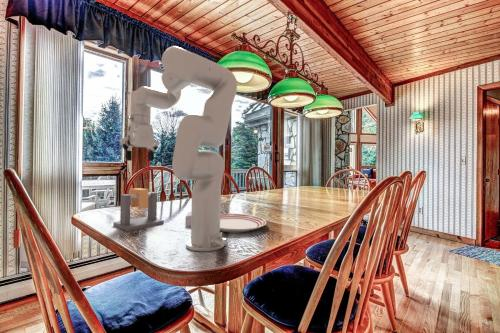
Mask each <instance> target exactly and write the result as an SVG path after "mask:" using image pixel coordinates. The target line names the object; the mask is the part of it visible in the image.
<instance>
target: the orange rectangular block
mask: <svg viewBox="0 0 500 333" xmlns="http://www.w3.org/2000/svg"><path fill="white" fill-rule="evenodd" d="M148 192H149V188H143V187H135V188H130V194H138V198H137V199H130V208H137V209H138V210H143V209H144V210H145V209H148Z"/></svg>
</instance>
